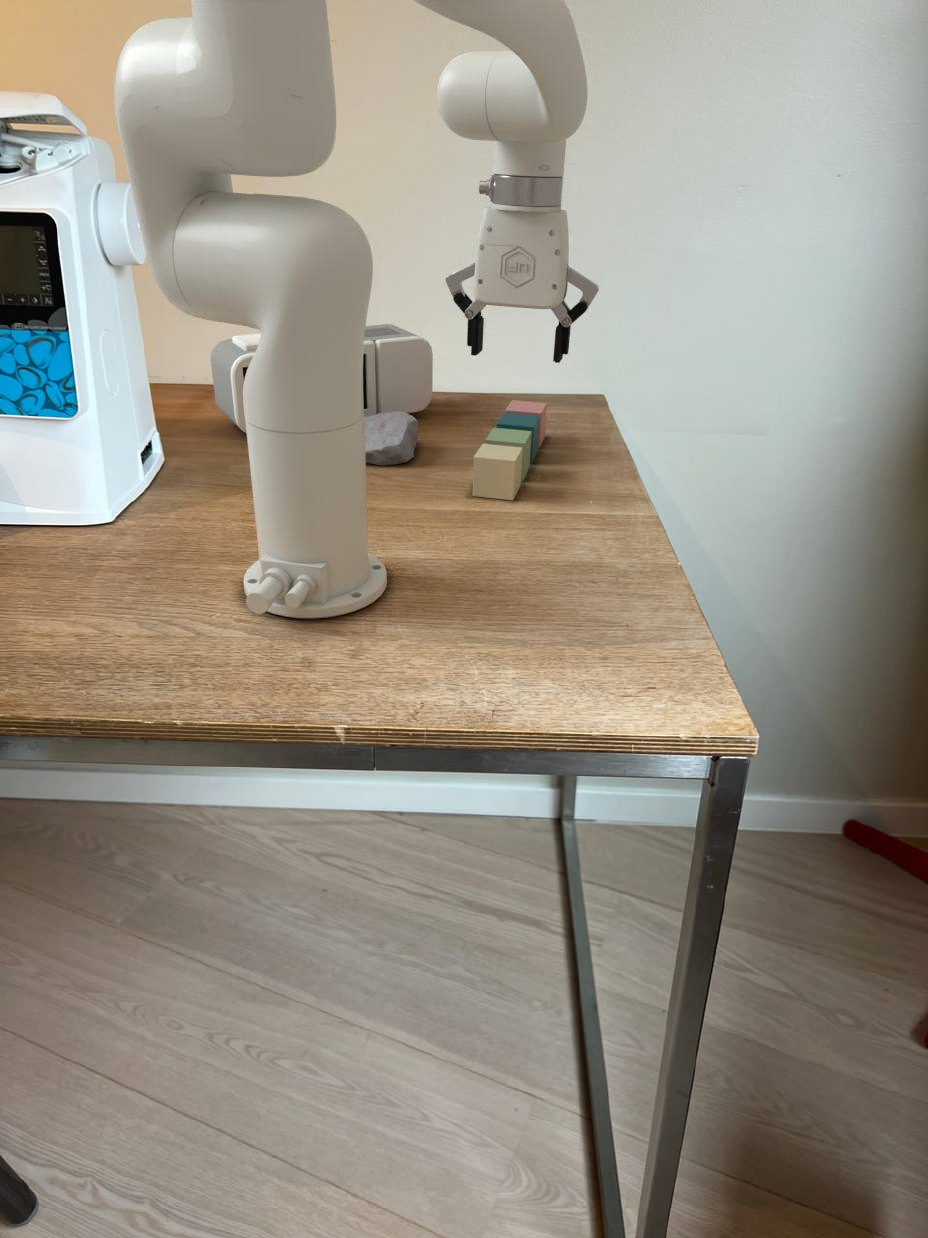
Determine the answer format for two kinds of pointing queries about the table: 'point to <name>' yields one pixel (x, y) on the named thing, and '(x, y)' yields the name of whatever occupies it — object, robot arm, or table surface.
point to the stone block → (390, 438)
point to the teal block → (522, 427)
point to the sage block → (513, 443)
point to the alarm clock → (389, 372)
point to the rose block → (530, 413)
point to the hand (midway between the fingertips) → (517, 356)
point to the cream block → (497, 471)
